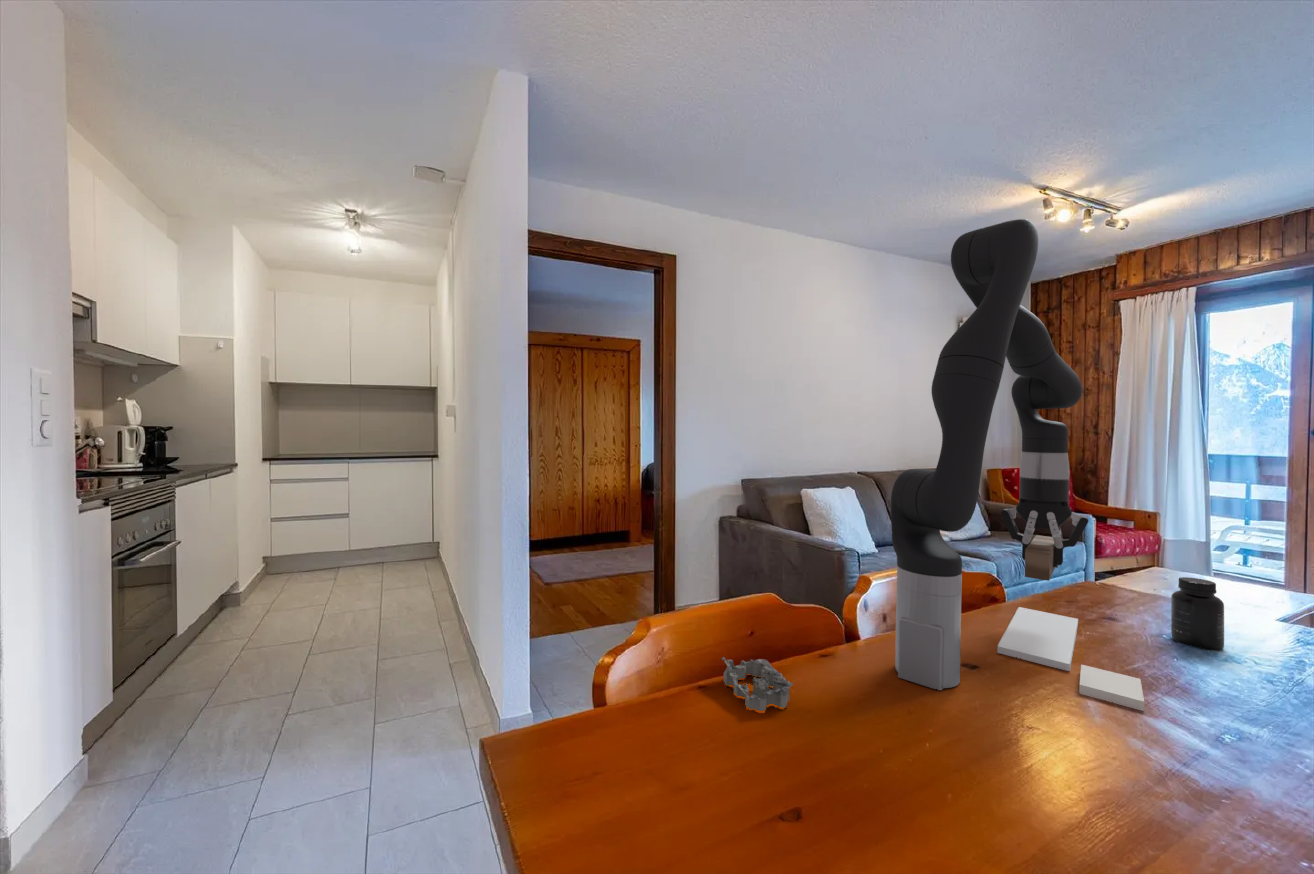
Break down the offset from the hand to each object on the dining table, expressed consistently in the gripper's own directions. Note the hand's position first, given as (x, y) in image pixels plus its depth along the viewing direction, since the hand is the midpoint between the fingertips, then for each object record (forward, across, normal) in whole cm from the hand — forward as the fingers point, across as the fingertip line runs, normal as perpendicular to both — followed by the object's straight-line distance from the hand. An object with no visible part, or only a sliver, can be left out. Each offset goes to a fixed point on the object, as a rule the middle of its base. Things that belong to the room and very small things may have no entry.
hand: (1042, 564), depth 95 cm
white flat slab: (+14, +10, -13) cm, 21 cm away
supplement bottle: (+15, +22, +18) cm, 32 cm away
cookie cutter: (+15, -29, -56) cm, 65 cm away
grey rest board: (+14, 0, 0) cm, 14 cm away
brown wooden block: (+1, 0, 0) cm, 1 cm away
